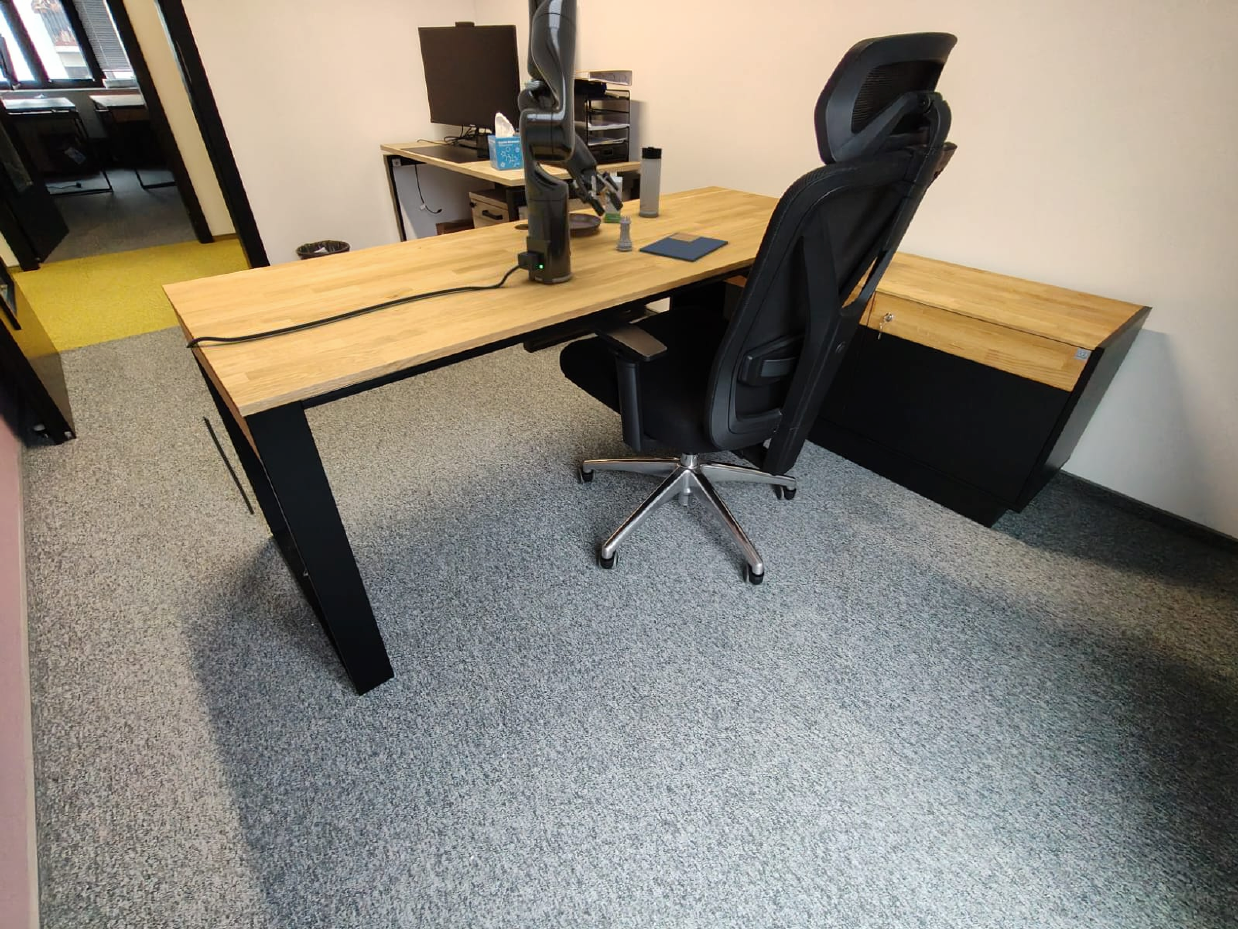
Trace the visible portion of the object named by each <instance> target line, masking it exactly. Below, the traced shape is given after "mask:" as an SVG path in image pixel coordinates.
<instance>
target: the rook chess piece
mask: <svg viewBox="0 0 1238 929" xmlns="http://www.w3.org/2000/svg"><path fill="white" fill-rule="evenodd" d="M618 224H620V226H619V229H620V231H619V236H618V237H619V238H618V239H617V241H616V245H617V246H615V248H616V250H617V251H618V252H631V251H632V250H633V248H634V247H633V242H632V239H631V233H630V229H631V226H630V225H631V224H632V220H631V217H628V216H620V221H619V223H618Z"/></svg>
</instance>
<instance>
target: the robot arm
mask: <svg viewBox="0 0 1238 929" xmlns="http://www.w3.org/2000/svg"><path fill="white" fill-rule="evenodd" d="M527 4H528V41H527V42H528V43H527V56H526V57H527V58H526V59H527V60H526V71H527V73H528V75H529V76H530V77H531V78H532V79H533V80H535V81H538V83H537V85H534V86H529V87H526V88H524V89H521V90H520V92H519V94H518V96H517V105H518V109H519V111H520V116H519V124H518V125H519V126H518V127H519V140H520V148H521V156H522V166H523V177H524V189H525V202H526V216H527V217H526V218H527V231H528V235H526V236H525V245H526V251H523V252H522V251H521V252H519V253H517V254H516V255H517V265H515V266H514V267H512V268H511V269H509V270H508V272H506V273H505V274H504V276H503V278H502V279H501V281H500V282H498V283H496V284H493V285H490V286H472V285H471V286H461V287H454V288H448V289H447V288H446V289H442V290H436V291H430V292H426V293H425V292H424V293H420V294H416V295H415V294H414V295H411V296H406V297H402V298H398V299H395V300H390V301H386V302H382V303H379V304H375V305H371V306H367V307H364V308H359V309H356V310H351V311H348V312H345V313H341V314H338V315H333V316H330V317H326V318H322V319H317V320H313V321H309V322H306V323H302V324H297V325H292V326H288V327H284V328H278V329H274V330H269V331H264V332H259V333H254V334H253V333H252V334H248V335H242V336H235V337H219V336H199V337H196V338H194V339H192V340H191V341H190V342H189V343H188V344H187V345H186V347H185V349H192V348H194V346H196V345H197V344H198V343H201V342H218V343H219V342H220V343H235V342H243V341H249V340H254V339H260V338H264V337H269V336H275V335H279V334H283V333H288V332H292V331H297V330H302V329H306V328H309V327H314V326H318V325H322V324H326V323H329V322H333V321H337V320H341V319H344V318H345V319H346V318H348V317H351V316H355V315H360V314H363V313H366V312H371V311H374V310H377V309H380V308H385V307H389V306H392V305H396V304H401V303H405V302H410V301H413V300H418V299H422V298H428V297H432V296H437V295H442V294H443V295H444V294H449V293H456V292H461V291H482V290H483V291H484V290H485V291H486V290H494V289H498V288H500V287H502V285H504V284H505V283H506V281H507V279H508V278H509V277H510V275H512V274H513V273H514V272H515V271H518V270H519V269H522V270H526V271H527V272H528V273H527V274H528V280H530V281H534V282H539V283H542V284H547V285H552V284H559V283H564V282H567V281H569V280H571V279H572V277H573V274H572V260H571V256H572V250H571V236H570V219H569V213H570V191H569V190H570V189H569V184H568V183H567V181H565V180H564V179H561V178H559V177H557V176H554V175H552V174H550V173H549V172H547V171H546V170H545V169H544V168H543V167H542V166H541V163H540V162H545V163H546V162H549V163H550V162H551V163H561V165H562V166H563V168H564V169H565V171H566V172H567V173H568V175H569V176H570V178H571V179H572V181H573V182H572V183H571V185H570V186H571V187H572V189H573V190H574V192H575V193H576V195H577V197H578V198H579V200H580V201H581V203H582V204H583V205H586V204H588V205H589V206H590V207H591V208H592V209H593V211H594V212H595V214H596V216H597V217H599V218H601V217H603V216H604V215H605V207H604V206H603V205H602V204H601V202H600V200H599V199H598V198H597V194H599V195H601V196H606V197H608V198H609V199H610V201H611V203H612V204H613V206H614V207H615V209H616V210H617V211H619V210H621V211H622V209H623V207H624V203H623V202H621V201H620V199H619V198H618V196H617V194H616V193H617V191H618V190H619V188H618V187H617V185H616V184H615V182H614V181H613V180H612V178H611V177H610V176H611V175H610V174H609V172H608V171H606V170H605V171H604V172H602V173H600V172H599V171H598V169H597V168H598V162H597V160H596V158H594V156H593V154H592V153H591V151H590V150H589V149H588V147H587V145H586V144H585V142H584V141H583V140H582V138H580V136H579V134H577V132H576V130H575V72H576V58H577V41H578V40H577V39H578V38H577V36H578V34H577V33H578V28H577V27H578V0H527ZM611 185H612V186H613V188H614V189H613V188H612V187H611ZM607 191H608V192H609V193H610V194H609V193H608V192H607ZM583 194H584V195H583ZM202 419H203V421H204V423H205V426H206V428H207V430H208V432H209V434H210V437H211V439H212V440H213V442H214V445H215V447H216V448H217V451H218V453H219V454H220V457H221V459H222V460H223V462H224V464H225V466H226V468H227V470H228V471H229V474H230V475H231V477H232V479H233V481H234V483H235V485H236V487H237V489H238V491H239V493H240V495H241V496H242V498H243V501H244V503H245V505H246V508H247V509H248V512H249V514H250V515H251V516H252V515H255V511H254V508H253V507H252V504H251V502H250V500H249V498H248V496H247V494H246V492H245V490H244V488H243V486H242V484H241V482H240V480H239V478H238V476H237V474H236V472H235V471H234V468H233V467H232V465H231V463H230V461H229V459H228V456H227V455H226V453H225V451H224V449H223V448H222V445H221V444H220V441H219V439H218V437H217V435H216V434H215V431H214V429H213V426H212V424H211V422H210V420H209V418H207V417H205V416H202Z"/></svg>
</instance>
